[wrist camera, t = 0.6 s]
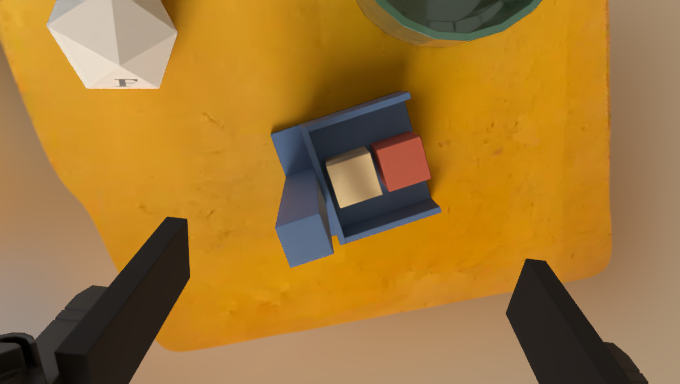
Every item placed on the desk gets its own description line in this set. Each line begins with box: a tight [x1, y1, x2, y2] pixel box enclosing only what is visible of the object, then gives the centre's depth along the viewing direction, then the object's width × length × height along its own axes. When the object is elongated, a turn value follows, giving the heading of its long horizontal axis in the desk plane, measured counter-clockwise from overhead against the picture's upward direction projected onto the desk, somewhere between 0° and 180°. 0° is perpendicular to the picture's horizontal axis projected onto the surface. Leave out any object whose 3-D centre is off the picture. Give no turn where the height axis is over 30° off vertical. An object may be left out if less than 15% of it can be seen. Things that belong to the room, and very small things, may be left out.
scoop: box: [271, 91, 441, 268], centre depth 34 cm, size 13×12×15 cm
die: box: [46, 0, 178, 88], centre depth 33 cm, size 8×9×10 cm
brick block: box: [370, 131, 431, 192], centre depth 39 cm, size 4×4×4 cm
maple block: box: [325, 146, 382, 208], centre depth 39 cm, size 4×4×4 cm
